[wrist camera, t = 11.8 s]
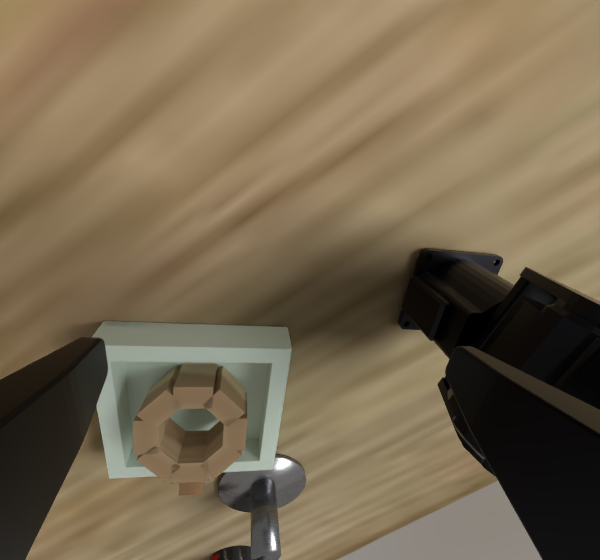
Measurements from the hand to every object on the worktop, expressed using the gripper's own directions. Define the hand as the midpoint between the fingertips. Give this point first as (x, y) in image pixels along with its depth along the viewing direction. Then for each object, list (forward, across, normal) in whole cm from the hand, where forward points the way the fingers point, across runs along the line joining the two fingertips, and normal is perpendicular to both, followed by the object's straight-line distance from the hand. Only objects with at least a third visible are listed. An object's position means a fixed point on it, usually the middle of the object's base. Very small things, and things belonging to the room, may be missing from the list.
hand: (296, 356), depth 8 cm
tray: (+13, +4, +14) cm, 19 cm away
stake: (+13, -2, +26) cm, 29 cm away
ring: (+12, +4, +14) cm, 19 cm away
